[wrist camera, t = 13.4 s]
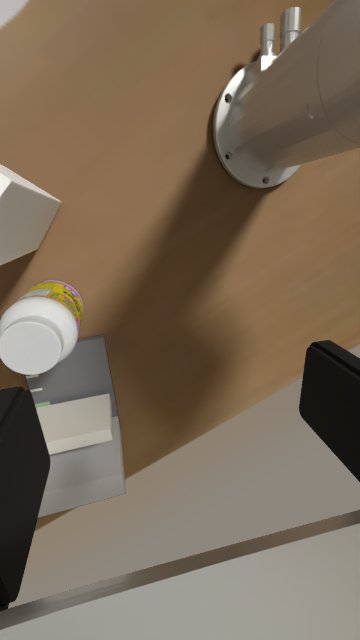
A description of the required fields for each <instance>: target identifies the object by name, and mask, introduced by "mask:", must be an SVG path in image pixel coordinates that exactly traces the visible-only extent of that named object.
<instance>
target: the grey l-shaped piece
mask: <svg viewBox="0 0 360 640" xmlns="http://www.w3.org/2000/svg"><path fill="white" fill-rule="evenodd" d="M25 377H26V381H27V384H28V387H29V391H30V392H31V393H32V397H33V400H34V403H35V407H36V408H38V407H43V406H48V405H53V404H58V403H63V402H68V401H73V400H78V399H83V398H88V397H93V396H98V395H103V394H108V393H109V394H110V400H111V411H112V436H113V440H111V441H106V442H102V443H98V444H93V445H89V446H85V447H80V448H76V449H72V450H68V451H63V452H59V453H55V454H50V470H49V474H48V478H47V482H46V486H45V490H44V494H43V498H42V502H41V506H40V510H39V514H38V518H39V517H42V516H46V515H50V514H53V513H57V512H61V511H64V510H68V509H72V508H75V507H79V506H83V505H86V504H90V503H94V502H97V501H101V500H105V499H108V498H112V497H115V496H119V495H123V494H126V491H125V479H124V466H123V454H122V441H121V429H120V423H119V417H118V411H117V406H116V400H115V395H114V389H113V383H112V378H111V372H110V367H109V361H108V356H107V350H106V344H105V339H104V335H98V336H91V337H85V338H79V339H77V342H76V344H75V347H74V349H73V350H72V352H71V353H70V354H69V355H68V356H67V357H66V358H65V359H63V360H62V361H60V362H58V363H56V365H55V366H54V367H52V368H51V369H50V370H48V371H46V372H44V373H41V374H36V375H25Z"/></svg>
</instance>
